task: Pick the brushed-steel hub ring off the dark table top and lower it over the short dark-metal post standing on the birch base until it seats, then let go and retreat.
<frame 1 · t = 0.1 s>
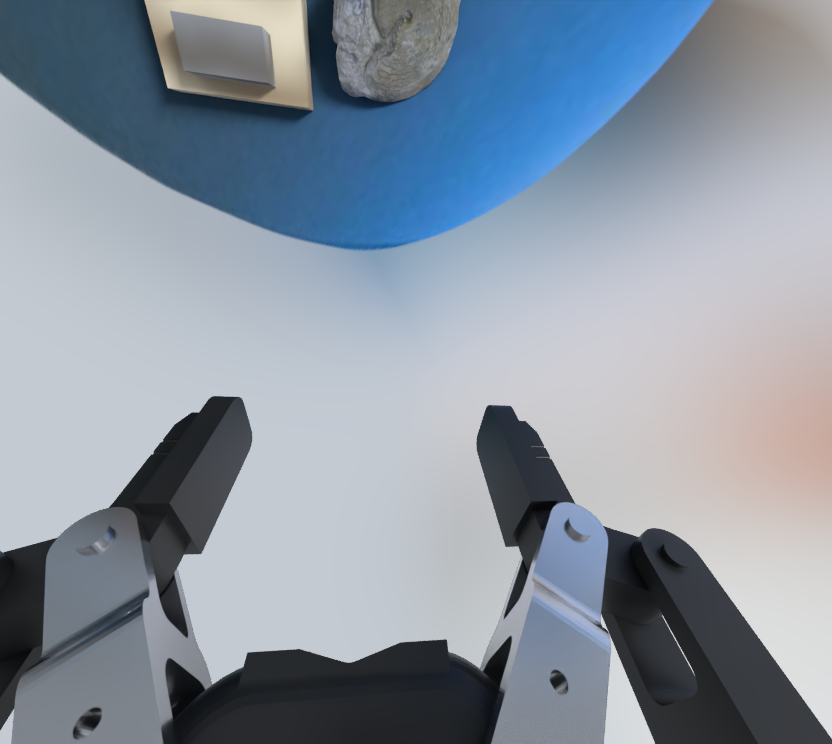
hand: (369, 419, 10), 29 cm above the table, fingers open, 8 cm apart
fossilized seashell: (390, 13, 25), on the table
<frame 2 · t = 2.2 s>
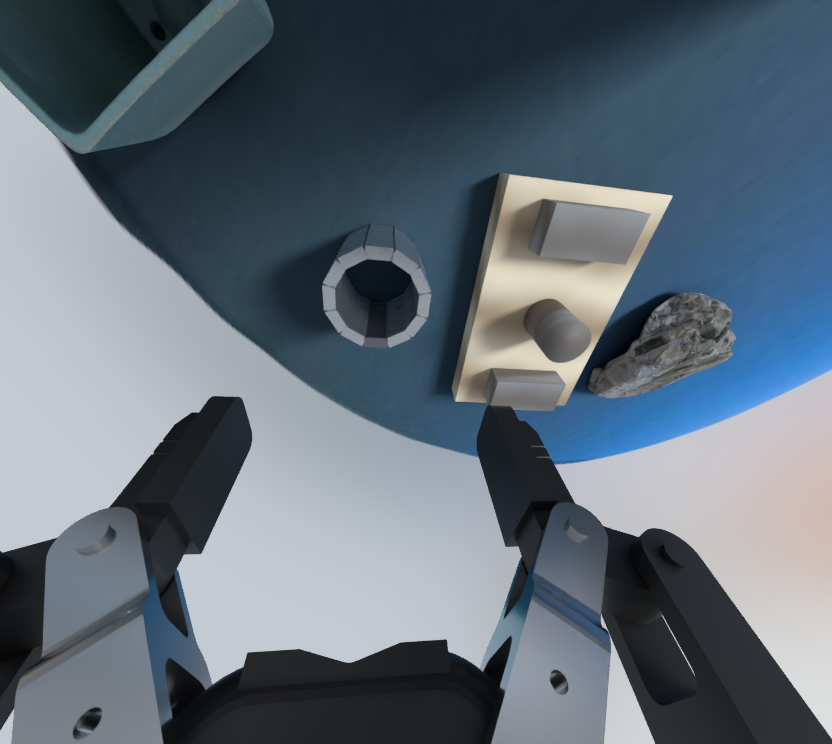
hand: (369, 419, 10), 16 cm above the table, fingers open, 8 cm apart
fossilized seashell: (644, 342, 29), on the table
hub ring: (379, 270, 23), on the table
flower pot: (187, 9, 15), on the table
shaft block: (534, 307, 26), on the table
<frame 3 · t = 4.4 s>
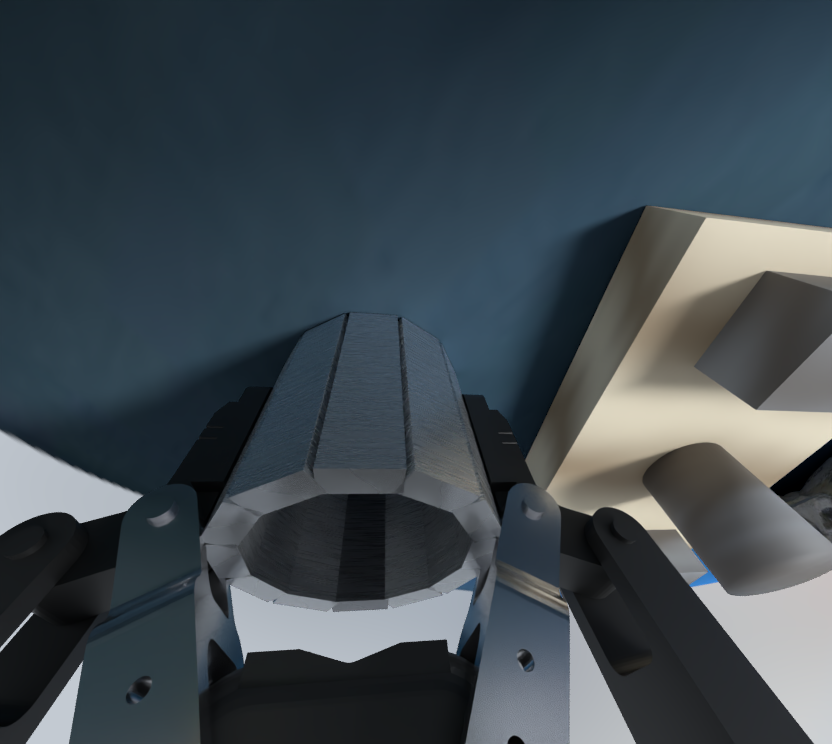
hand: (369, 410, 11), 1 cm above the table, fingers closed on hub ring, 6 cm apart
fossilized seashell: (800, 473, 18), on the table
hub ring: (371, 389, 12), on the table, touching gripper
shaft block: (649, 433, 14), on the table
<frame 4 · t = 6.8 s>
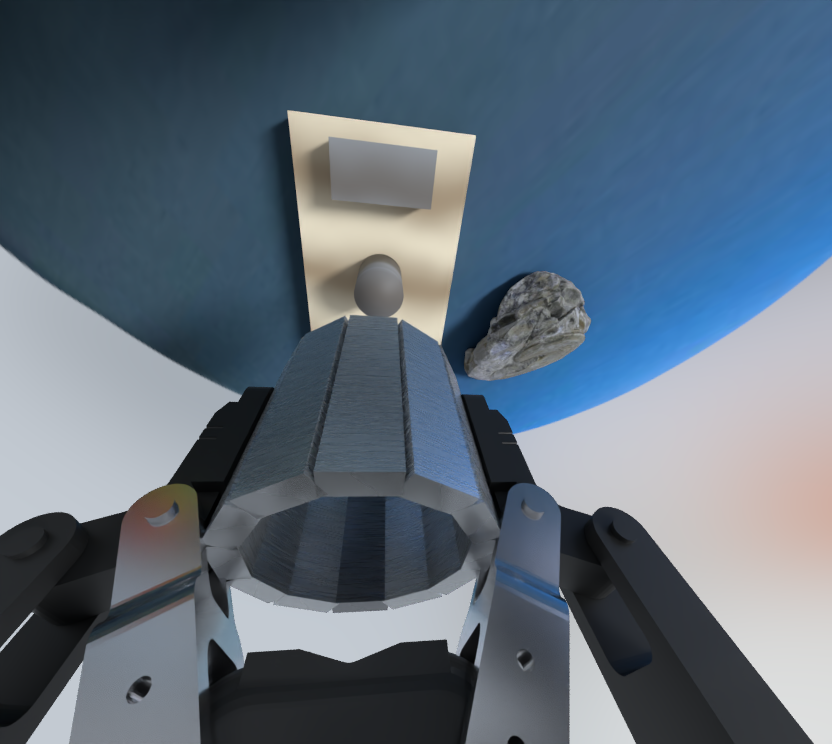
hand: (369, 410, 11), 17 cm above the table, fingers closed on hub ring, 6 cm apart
fossilized seashell: (516, 324, 29), on the table
hub ring: (371, 391, 12), point 16 cm above the table, touching gripper
shaft block: (380, 267, 25), on the table
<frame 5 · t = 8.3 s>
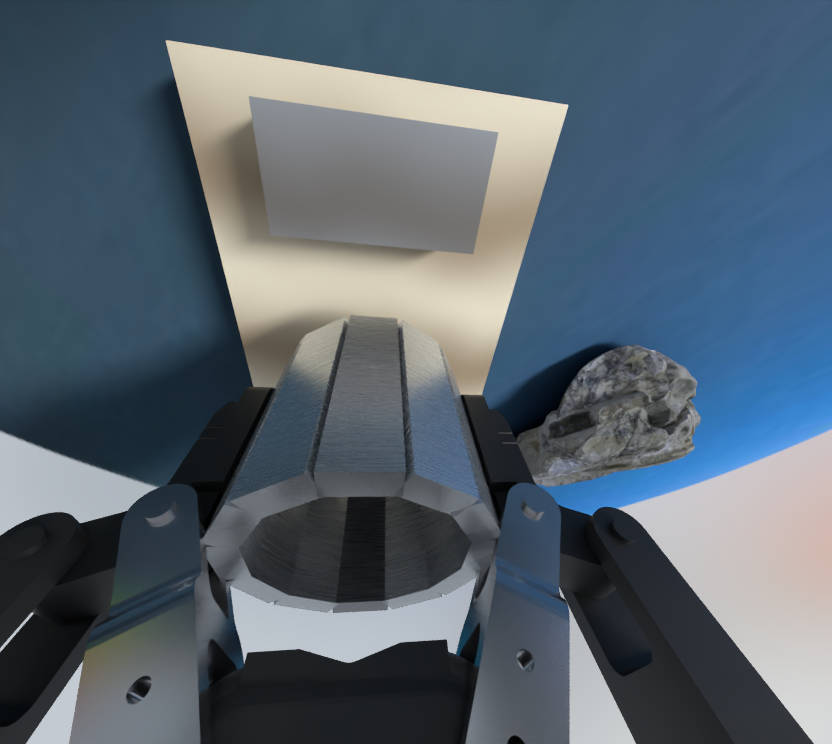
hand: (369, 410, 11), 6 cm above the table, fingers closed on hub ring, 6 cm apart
fossilized seashell: (574, 406, 20), on the table
hub ring: (371, 391, 12), point 4 cm above the table, touching gripper
shaft block: (375, 330, 15), on the table
when the fingers open (4 cm above the table, at t = 9.6 s): hub ring stays where it is, resting on shaft block.
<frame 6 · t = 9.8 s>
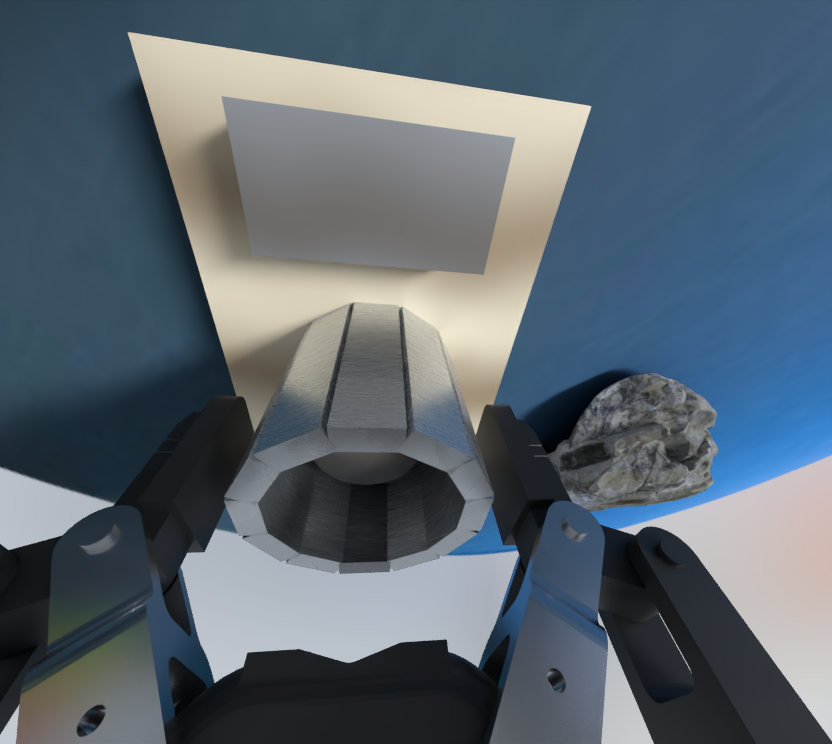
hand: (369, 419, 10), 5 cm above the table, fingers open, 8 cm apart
fossilized seashell: (584, 431, 19), on the table
hub ring: (374, 376, 13), point 2 cm above the table, touching shaft block
shaft block: (373, 349, 14), on the table
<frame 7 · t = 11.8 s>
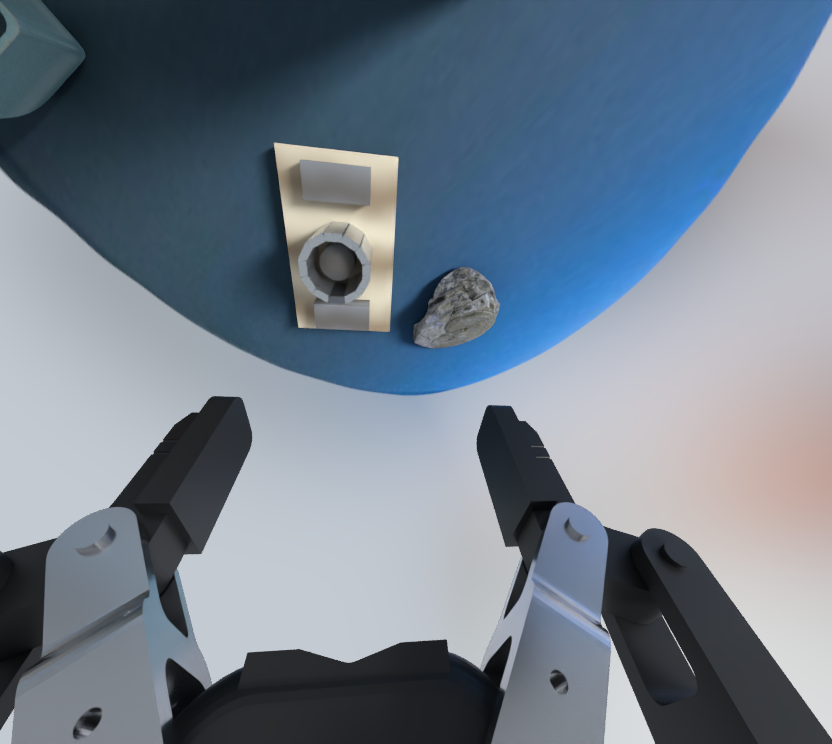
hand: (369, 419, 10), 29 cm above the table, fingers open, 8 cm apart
fossilized seashell: (451, 307, 40), on the table
hub ring: (342, 254, 33), point 2 cm above the table, touching shaft block
flower pot: (37, 37, 24), on the table
shaft block: (343, 249, 34), on the table
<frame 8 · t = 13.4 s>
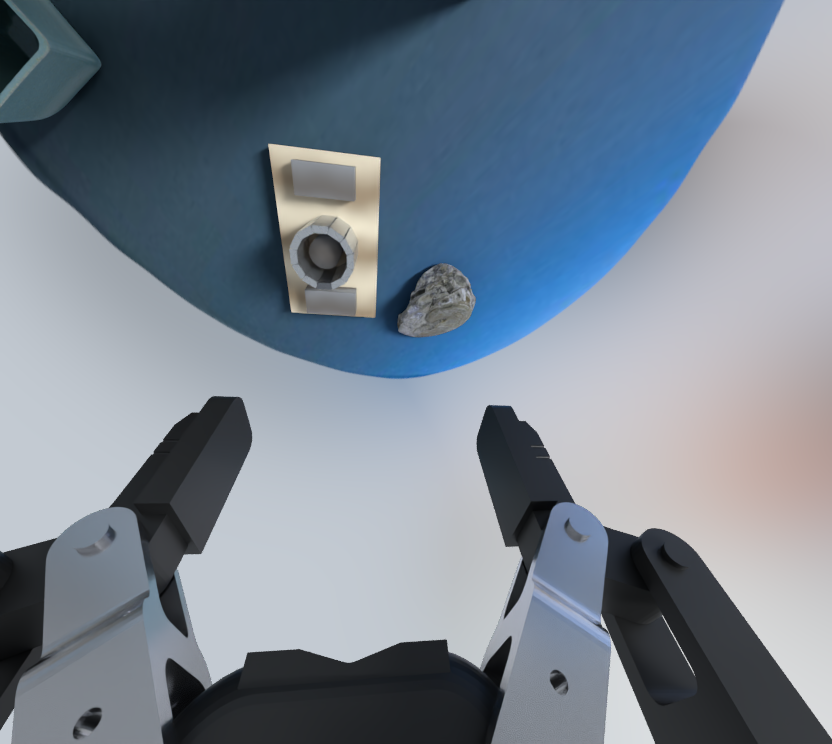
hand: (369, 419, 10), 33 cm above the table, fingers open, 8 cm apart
fossilized seashell: (433, 299, 44), on the table
hub ring: (331, 245, 36), point 2 cm above the table, touching shaft block
flower pot: (58, 48, 27), on the table
shaft block: (332, 240, 38), on the table
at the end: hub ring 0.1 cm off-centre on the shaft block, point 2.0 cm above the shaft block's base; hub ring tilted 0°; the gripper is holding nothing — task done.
